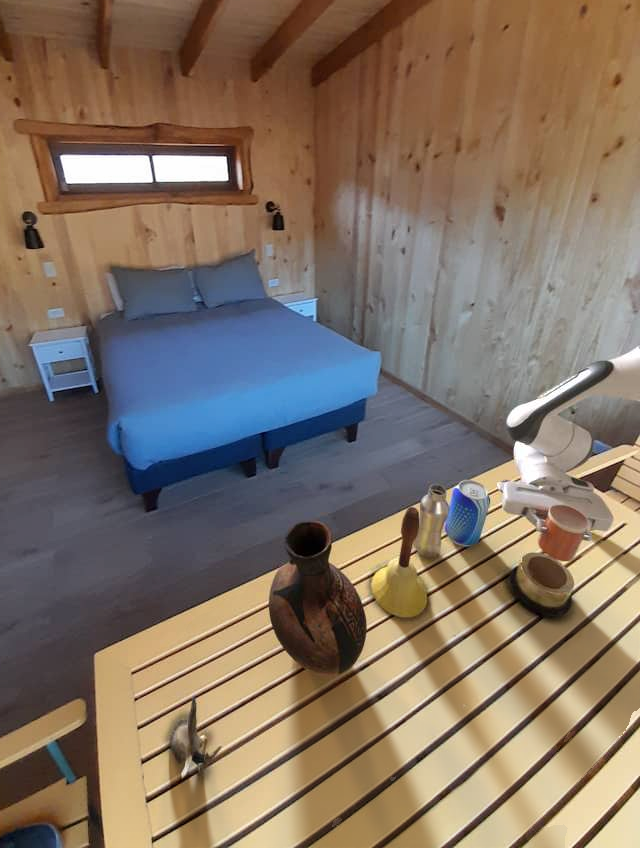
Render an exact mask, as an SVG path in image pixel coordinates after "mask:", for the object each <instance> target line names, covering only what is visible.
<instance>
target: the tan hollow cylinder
mask: <svg viewBox="0 0 640 848" xmlns="http://www.w3.org/2000/svg"><path fill="white" fill-rule="evenodd" d="M507 584H508V589H509V591H510V593H511V595H512V596H513V598H514V599H515V600H516V601H517V603H518V604H519V605H520V606H521V607H522V608H524V609H525V610H527V611H528V612H530V613H531V614H533V615H535V616H537V617H540V618H543V619H547V620H561V619H563V618H565V617H566V616H567V615H568V614H569V612H570V610H571V608H572V605H573V599H572V595H571V594H572V592H573V590H574V588H575V580H574V577H573V575H572V573H571V571H570V570H569V569H568V568H567V567H566V566H565V565H564V564H563V563H562V562H561V561H559V560H556V559H554V558H552V557H550V556H548V555H547V554H546V553H541V552H528V553H525V554H524V555H523V556H522V557H521V559H520V561H519V563H518V565H516V566H515V567H513V568H512V569H511V570H510V572H509V576H508V579H507Z"/></svg>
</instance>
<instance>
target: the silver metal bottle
mask: <svg viewBox="0 0 640 848" xmlns="http://www.w3.org/2000/svg"><path fill="white" fill-rule="evenodd" d="M449 506H450V504H449V503H448V501H447V489H446V488H445V486H443V485H441V484H436V483H434V484H430V485H429V488H428V490H427V494H426V495H424V496H423V497H422V498H421V500H420V502H419V522H420V524H419V531H418V535H417V537H416V539H415V540H414V541H413V545H412V547H413V548H414V549H415V551H416V552H417V553H418V554H419V555H420V556H423V557H426V558H433V557H435V556H437V555H438V554H439V552H440V550H441V548H442V533H443V528H444V527H445V523H446V519H447V517H448V515H449V512H450V510H449Z"/></svg>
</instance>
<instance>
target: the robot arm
mask: <svg viewBox="0 0 640 848" xmlns="http://www.w3.org/2000/svg"><path fill="white" fill-rule="evenodd" d="M591 397H613V398H619V399H624V400H628V401H629V400H630V401H635V402H640V344H639V345H637V346H636V347H634V348H633V349H632V350H630V351H629V352H627V353H625V354H622V355H620V356H617V357H615V358H611V359H607V360H597V361H593V362H592V363H589V364H587V365H585V366H584V367H582V368H580V369H578V370H577V371H575V372H574V373H572V374H570V375H569V376H566V377H565V378H564V379H562V380H560V381H559V382H558V383H556V384H554V385H553V386H551V387H550V388H548V389H546V390H544V391H543V392H541V394H539V395H537V396H535V397H534V398H531V399H529V400H527V401H525V402H522V403H521V404H518V405H517V406H515V407H514V408H513V409H512V410H511V411H510V412H509V414H508V415H507V418H506V421H505V423H506V430H507V431H508V435H509V436H510V438H511V439H512V440H513V441H515V443H514V446H513V460H514V464H515V467H516V470H517V472H518V474H519V475H520V481H516V480H515V481H514V480H509V479H503V480H500V481H498V482H497V488H498V491H499V492H500V493H501V506H502V510H503V511H504V512H506V513H507V514H509V515H515V516H519V517H525V518H526V520H527V521H528V522H529V523H530V524H532V525H533V526H534V527H535V530H536V532H538V533H541V532H544V533H545V532H546V531H545V530H547V526H546V523H545V520H546V517H547V515H548V511H549V509H550V507H551V506H553V505H556V504H562V505H567V506H570V507H573V508H575V509H577V510H578V511H580V512H581V513H583V514H584V515H585V516H586V518H587V519H588V521H589V527H588V529H587V531H586V533H585V535H584V537H583V540H582V541H585V542H586V541H587V542H591V541H592V539H593V534H592V531H590V529H595V530H594V531H602V532H607V531H608V530H609V529H610V528H611V527H612V526H613V523H614V515H613V514H612V513H613V512H612V511H611V510H610V507H608V505H607V503H606V502H605V500H604V499H603V498H602V497H601V496H600V495H599V494H597V493H596V492H595V487H594V485H593V484H592V483H591V482H589V481H586V480H583V479H581V478H577V477H575V476H572V475H570V474H567V473H569V472H571V471H574V470H575V469H577V468H579V467H581V466H583V465H584V464H585V463H587V461H589V459H590V458H591V457H592V455H593V452H594V440H593V436H592V434H591V433H590V432H589V431H588V430H586V429H584V428H583V427H582V426H581V427H580V426H579V425H577V424H575V423H573V422H572V421H570V420H567V419H565V418H563V417H562V416H560V415H558V414H560V413H562V412H563V411H565V410H566V409H568V408H570V407H572V406H574V405H575V404H576V403H578V402H580V401H582V400H584V399H586V398H591Z"/></svg>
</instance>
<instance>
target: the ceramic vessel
mask: <svg viewBox="0 0 640 848" xmlns="http://www.w3.org/2000/svg"><path fill="white" fill-rule="evenodd" d="M283 544H284V549H285V551H286V553H287V556H288V557H289V561H286V562H285V563H283V564H282V565H281V566H280V567H279V568H278V570H277V571H276V573H275V574H274V577H273V579H272V582H271V585H270V589H269V595H268V613H269V620H270V624H271V626H272V630H273V632H274V634H275V636H276V639H277V641H278V642H279V643H280V645H281V646H282V647H281V648H283V649H284V651H285V652H286V654H287V655H289V656H290V657H291V659H292V660H293V661H294V662H296V663H297V664H298V665H299V666H300V667H301V668H303V669H305V670H306V671H309V672H311V673H314V674H317V675H321V676H336V675H337V676H338V675H341V674H343V673H345V672H347V671H349V670H350V669H351V668H352V667H353V666H354V665H355V664H356V663H357V661H358V659H359V658H360V656H361V654H362V652H363V650H364V646H365V644H366V638H367V629H368V627H367V616H366V611H365V608H364V605H363V602H362V598H361V596H360V595H359V593H358V591H357V589H356V587H355V586H354V585H353V583H352V582H351V580H350V578H348V577H347V575H345V573H344V572H343V571H341V570H340V569H339V568H338V567H337V566H335V565H334V564H332V563H331V562H330V561H329V559H330V554H331V553H332V552H331V551H332V549H333V547H332V546H333V539H332V533H331V531H330V529H329V528H328V526H326V525H325V523H322V522H321V521H317V520H308V521H300V522H297V523H296V524H294V525H293V526H292V527H290V528H289V530H288V532H287V533H286V536H285V538H284V543H283Z"/></svg>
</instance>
